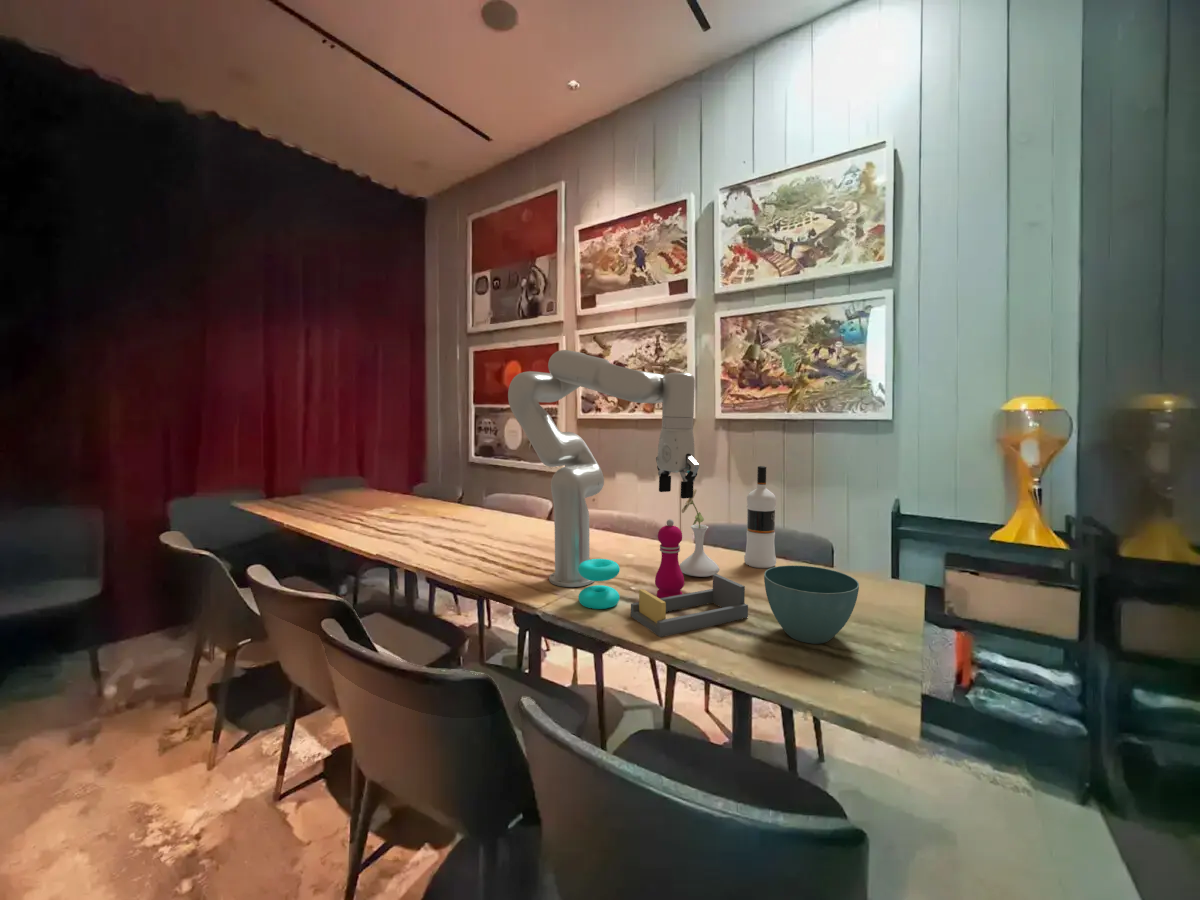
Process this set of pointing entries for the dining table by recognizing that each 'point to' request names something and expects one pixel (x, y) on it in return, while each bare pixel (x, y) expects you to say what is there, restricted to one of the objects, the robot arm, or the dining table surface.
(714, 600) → the lane
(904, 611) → the dining table surface
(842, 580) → the teal bowl
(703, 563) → the flower in vase
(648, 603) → the pusher plate
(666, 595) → the pepper mill
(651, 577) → the dining table surface
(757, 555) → the vodka
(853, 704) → the dining table surface
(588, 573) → the donuts
